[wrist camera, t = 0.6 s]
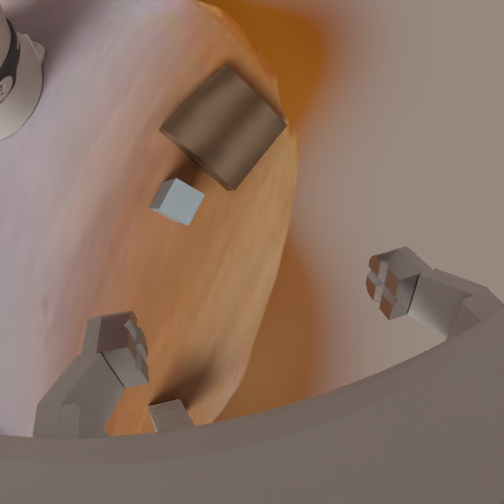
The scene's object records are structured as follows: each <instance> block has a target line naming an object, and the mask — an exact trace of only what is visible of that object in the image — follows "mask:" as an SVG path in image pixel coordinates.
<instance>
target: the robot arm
mask: <svg viewBox="0 0 504 504" xmlns="http://www.w3.org/2000/svg"><path fill="white" fill-rule="evenodd" d="M45 52H46V51H45V48H44V46H43V45H41V44H39V43H37V42H34V41H32V40H30V38H29V36H28V35H27V34H24V35H23V34H21V33H19V32H16V30H15V28H14V26H13V25H12V24H11V22H10V21H9V20H8V19H7V18H5V15H4V13H3V10H2V8H1V5H0V140H1V139H4V138H6V137H8V136H9V135H11V134H12V133H14V132H15V131H16V130H18V129H19V128H20V127H21V126H22V125H23V124H24V123H25V122H26V120H27V119H28V118H29V117H30V115H31V114H32V112H33V110H34V109H35V107H36V105H37V103H38V100H39V97H40V94H41V90H42V71H41V66H42V63H43V60H44V57H45ZM369 267H370V268H371V271H370V272H369V274H368V275H367V280H366V286H367V291H368V293H369V295H370V297H371V298H372V299H373V300H374V301H376V302H378V303H380V309H381V311H382V312H383V313H384V315H385V316H386V317H387V318H388V320H391V319H394V318H397V317H400V316H403V315H405V314H408V316H410V317H412V318H414V319H416V320H417V321H419V322H421V323H423V324H425V325H426V326H428V327H430V328H432V329H434V330H435V331H437V332H439V333H441V334H443V335H444V336H446V337H447V338H446V340H445V342H443V343H441V344H439V345H437V346H435V347H433V348H431V349H429V350H427V351H425V352H423V353H421V354H419V355H417V356H415V357H412V358H410V359H408V360H406V361H404V362H402V363H399V364H397V365H395V366H393V367H390V368H388V369H386V370H383V371H381V372H379V373H377V374H374V375H372V376H369V377H366V378H364V379H361V380H359V381H356V382H354V383H351V384H348V385H346V386H343V387H340V388H337V389H335V390H332V391H329V392H326V393H323V394H320V395H317V396H314V397H311V398H308V399H305V400H301V401H298V402H295V403H292V404H288V405H285V406H281V407H278V408H274V409H270V410H267V411H263V412H259V413H255V414H251V415H247V416H243V417H238V418H234V419H229V420H225V421H220V422H215V423H210V424H205V425H199V426H193V427H188V428H181V429H175V430H168V431H161V432H153V433H144V434H134V435H123V436H109V435H108V434H107V433H106V432H105V431H104V430H103V429H104V427H105V426H106V424H107V422H108V420H109V418H110V416H111V414H112V412H113V410H114V408H115V407H116V405H117V403H118V401H119V399H120V397H121V395H122V394H123V392H124V390H125V388H126V387H132V386H138V385H143V384H149V380H148V366H147V364H146V362H145V360H146V358H147V357H148V349H147V343H146V339H145V336H144V333H143V331H142V329H141V328H139V327H137V318H136V316H135V314H134V312H133V311H126V312H120V313H114V314H108V315H104V316H97V317H91V318H90V319H89V320H88V322H87V327H86V332H85V337H84V342H83V348H82V353H81V355H79V356H77V357H76V358H75V359H74V360H73V362H72V363H71V364H70V365H69V366H68V368H67V369H66V370H65V371H64V372H63V374H62V375H61V376H60V377H59V378H58V380H57V381H56V382H55V383H54V385H53V386H52V387H51V388H50V390H49V391H48V392H47V393H46V395H45V396H44V397H43V398H42V400H41V401H40V402H39V403H38V406H37V411H36V417H35V424H34V431H33V437H21V436H8V435H0V504H504V304H503V303H502V302H501V301H500V300H499V299H498V298H497V297H496V296H495V295H494V294H493V293H492V292H491V291H490V290H489V289H488V288H487V287H484V286H482V285H479V284H477V283H474V282H471V281H468V280H466V279H463V278H460V277H457V276H455V275H452V274H449V273H446V272H444V271H441V270H438V269H431V268H430V267H429V266H428V265H427V264H426V263H425V262H424V261H423V260H422V259H421V258H420V257H418V256H417V255H416V254H415V253H414V252H413V251H412V250H411V249H409V248H408V247H402V248H398V249H395V250H393V251H389V252H386V253H381V254H378V255H374V256H372V257H371V258H370V261H369Z"/></svg>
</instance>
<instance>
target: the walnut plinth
mask: <svg viewBox="0 0 504 504" xmlns="http://www.w3.org/2000/svg"><path fill="white" fill-rule="evenodd" d="M286 126H287V125H286V124H285V122H284V121H283V120H282V119H281V118H280V117H279V116H278V115H277V114H276V113H275V112H274V111H273V110H272V109H271V108H270V107H269V106H268V105H267V104H266V103H265V102H264V100H263V99H262V98H261V97H260V96H259V95H258V94H257V93H256V92H255V91H254V90H253V89H252V88H251V87H250V86H249V85H248V84H246V83H245V82H244V81H243V80H242V79H241V78H240V77H239V76H238V75H237V74H236V73H235V72H234V71H233V70H232V69H231V68H230V67H229V66H228V65H227V64H225V65H224V66H223V67H222V68H220V69H219V70H218V71H217V72H216V73H215V74H214V75H213V76H212V77H211V78H210V79H208V80H207V81H206V82H205V83H204V84H203V85H202V86H201V87H200V88H199V89H198V90H197V91H196V92H195V93H194V94H193V95H192V96H191V97H190V98H189V99H188V100H187V101H186V102H185V103H184V104H183V105H182V106H181V107H180V108H179V109H178V110H177V111H176V112H175V113H174V114H173V115H172V116H171V117H170V118H169V119H168V120H167V121H166V122H165V123H164V125H163V126H162V127H161V128H160V129H159V131H160V132H161V133H163V134H164V135H165V136H166V137H167V138H168V139H170V140H171V141H172V142H173V143H174V144H175V145H176V146H178V147H179V148H180V149H181V150H182V151H183V152H184V153H186V154H187V155H188V156H189V157H190V158H191V159H192V160H193V161H195V162H196V163H197V164H198V165H199V166H200V167H201V168H203V169H204V170H205V171H206V172H207V173H208V174H209V175H210V176H211V177H213V178H214V179H215V180H216V181H217V182H218V183H219V184H220V185H222V186H223V187H224V188H225V189H226V190H227V191H229V190H236V188H237V187H238V186H239V185H240V183H241V182H242V181H243V179H244V178H245V177H246V176H247V174H248V173H249V172H250V171H251V169H252V168H253V167H254V166H255V164H256V163H257V162H258V161H259V159H260V158H261V157H262V156H263V154H264V153H265V152H266V151H267V149H268V148H269V147H270V146H271V145H272V143H273V142H274V141H275V140H276V138H277V137H278V136H279V135H280V134H281V132H282V131H283V130H284V129H285V128H286Z"/></svg>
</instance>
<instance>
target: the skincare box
mask: <svg viewBox="0 0 504 504" xmlns="http://www.w3.org/2000/svg"><path fill="white" fill-rule="evenodd" d="M148 408H149V411H150V415H151V418H152V421H153V424H154V427H155V429H156V432H161V431H168V430H175V429H181V428H188V427H193V426H194V424H193V422H192V420H191V418H190V417H189V415H188V413H187V411H186V409H185V407H184V405H183V403H182V402H181V400H180V399H176V400H172V401H168V402H164V403H159V404H155V405H150V406H148Z"/></svg>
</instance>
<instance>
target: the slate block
mask: <svg viewBox="0 0 504 504" xmlns="http://www.w3.org/2000/svg"><path fill="white" fill-rule="evenodd" d="M204 196H205V195H204V194H203V193H201V192H199V191H198V190H196V189H194V188H193V187H191V186H189V185H187V184H186V183H184V182H182V181H181V180H179V179H177V178H174V179H171V180H168V181H165V182H163V184H162V186H161V187H160V189H159V191H158V193H157V195H156V197H155V198H154V200H153V202H152V204H151V206H150V208H151V209H152V210H154V211H156V212H158V213H160V214H162V215H163V216H165V217H167V218H169V219H171V220H173V221H175V222H178V223H182V224H186V225H189V224H190V222H191V220H192V218H193V216H194V215H195V213H196V211H197V209H198V207H199V205H200V203H201V201H202V200H203V198H204Z"/></svg>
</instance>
